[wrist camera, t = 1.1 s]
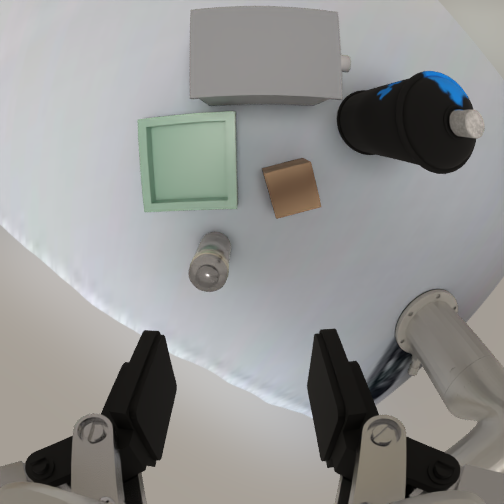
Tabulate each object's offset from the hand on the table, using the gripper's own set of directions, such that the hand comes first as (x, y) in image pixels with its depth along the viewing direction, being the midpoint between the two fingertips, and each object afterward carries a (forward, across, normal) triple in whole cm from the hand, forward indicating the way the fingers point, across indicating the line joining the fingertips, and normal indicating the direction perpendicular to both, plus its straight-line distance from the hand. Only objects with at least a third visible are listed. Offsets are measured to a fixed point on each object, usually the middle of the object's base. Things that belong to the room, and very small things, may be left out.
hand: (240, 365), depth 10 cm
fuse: (+27, +4, +6) cm, 28 cm away
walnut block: (+28, -5, -2) cm, 28 cm away
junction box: (+27, -2, -16) cm, 32 cm away
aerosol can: (+28, -15, -10) cm, 33 cm away
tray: (+27, +6, -5) cm, 29 cm away
